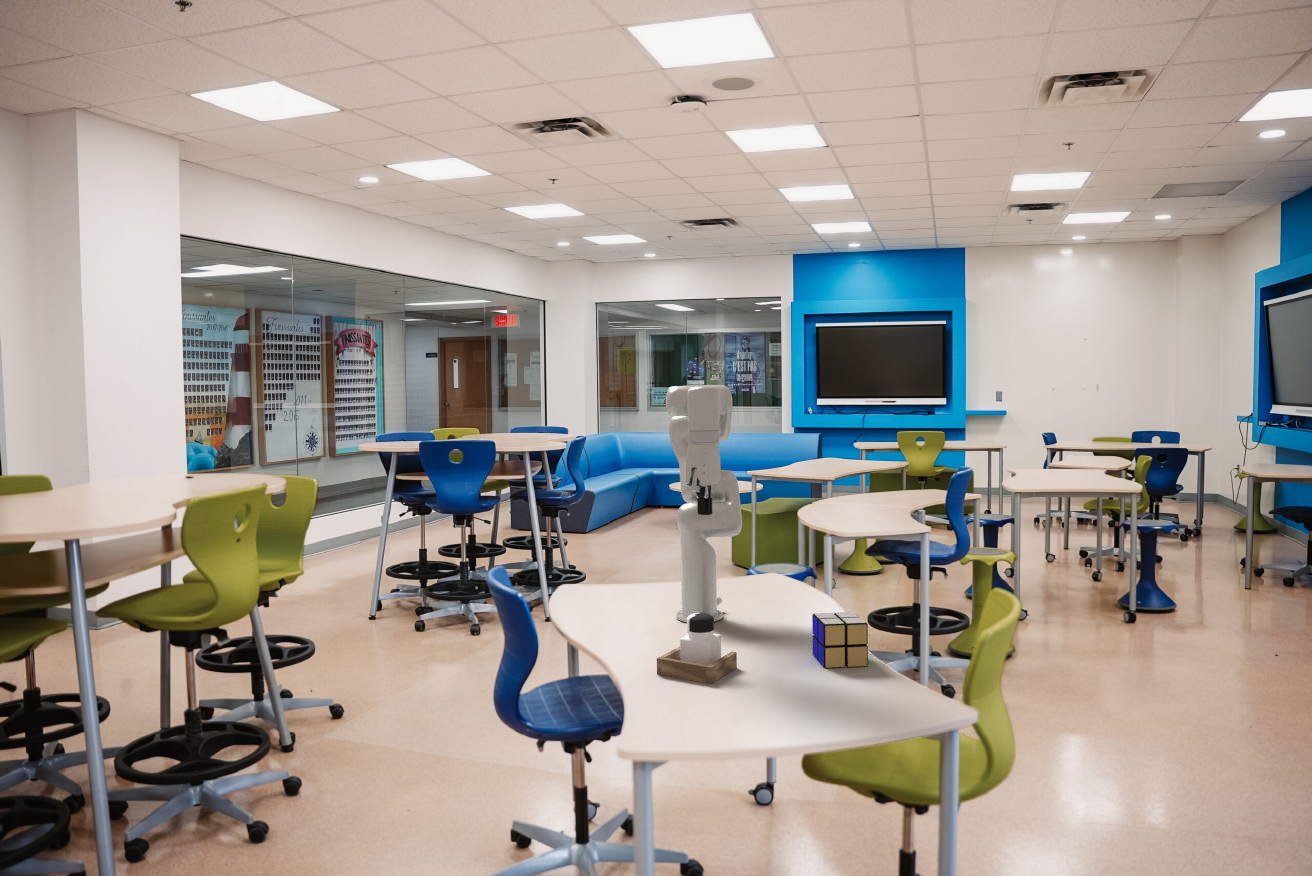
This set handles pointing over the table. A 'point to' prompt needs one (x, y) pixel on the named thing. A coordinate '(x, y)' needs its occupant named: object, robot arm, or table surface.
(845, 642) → the puzzle cube
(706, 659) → the medicine bottle
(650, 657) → the table surface
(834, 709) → the table surface
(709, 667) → the bay
